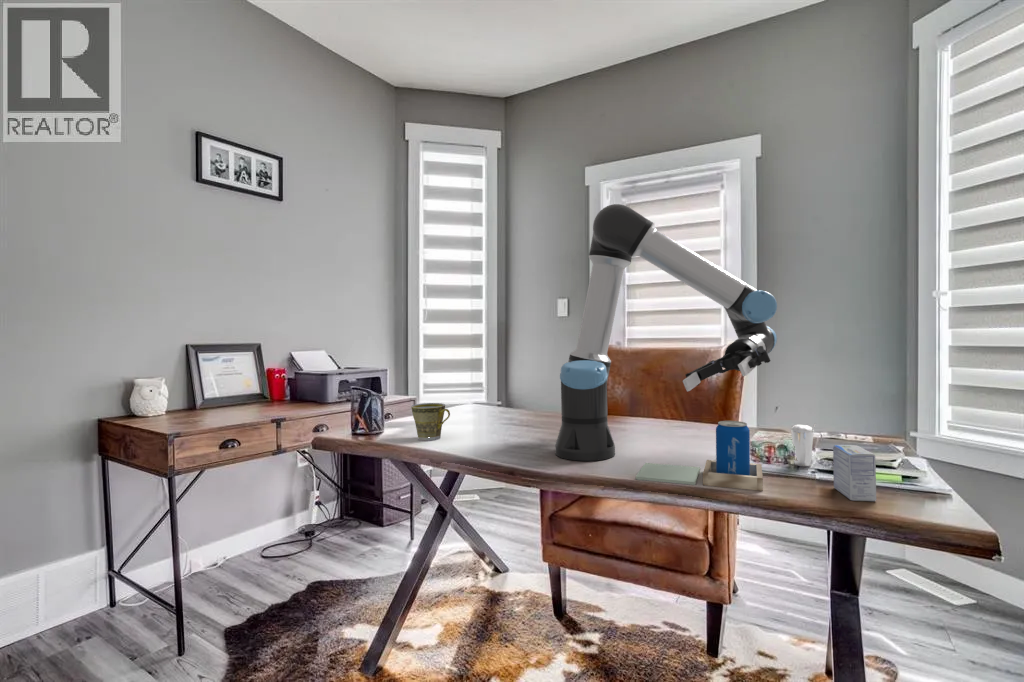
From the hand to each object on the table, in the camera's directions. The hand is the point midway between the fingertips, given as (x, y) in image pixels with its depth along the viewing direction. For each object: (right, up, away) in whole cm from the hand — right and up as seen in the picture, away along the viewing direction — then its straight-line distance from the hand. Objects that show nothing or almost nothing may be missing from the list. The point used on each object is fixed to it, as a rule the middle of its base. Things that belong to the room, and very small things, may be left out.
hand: (712, 378), depth 119 cm
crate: (+1, -21, -8) cm, 22 cm away
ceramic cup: (-68, -21, +40) cm, 82 cm away
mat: (-11, -21, -3) cm, 23 cm away
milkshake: (+22, -20, +2) cm, 30 cm away
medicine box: (+20, -21, -18) cm, 34 cm away
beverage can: (+1, -21, -8) cm, 22 cm away
